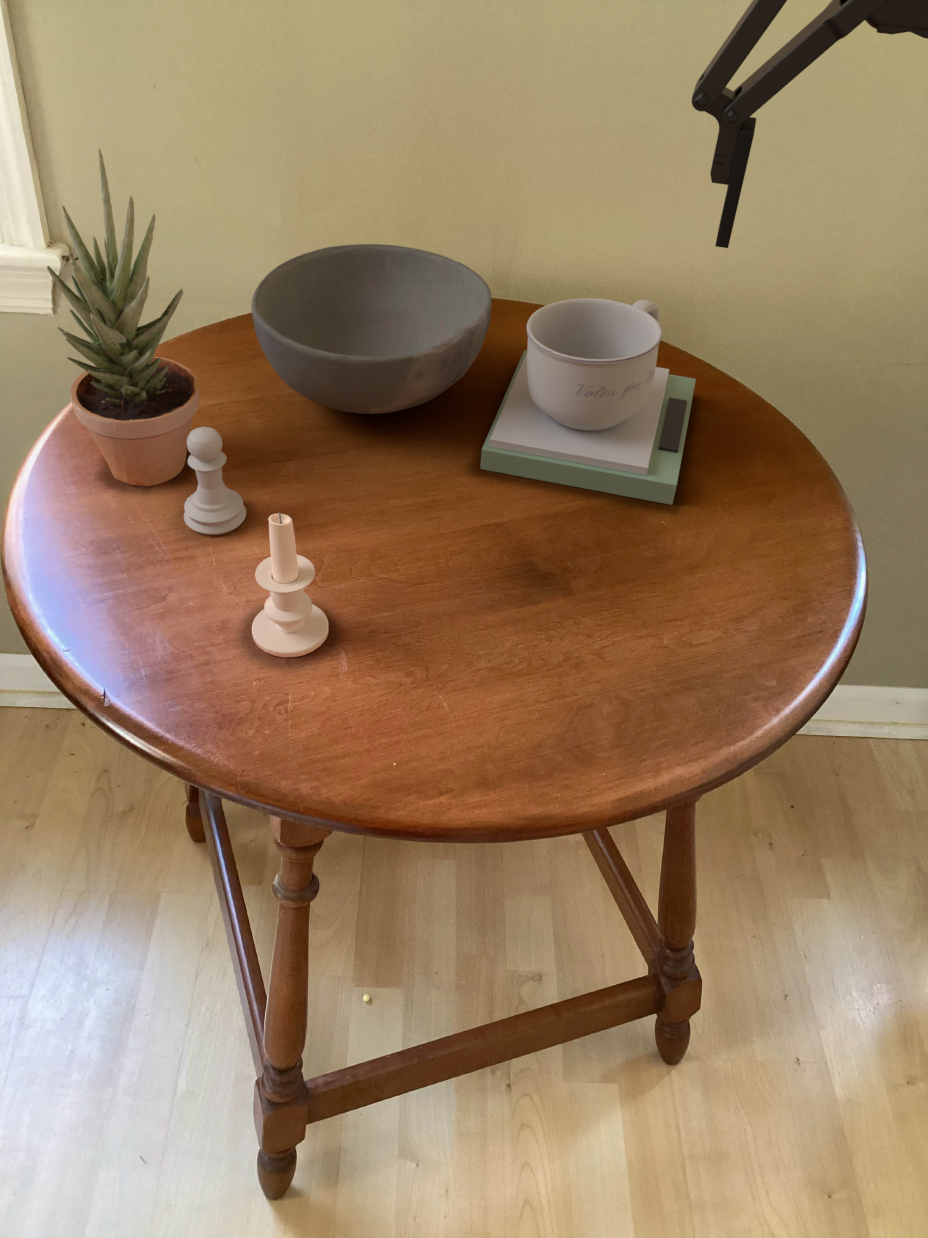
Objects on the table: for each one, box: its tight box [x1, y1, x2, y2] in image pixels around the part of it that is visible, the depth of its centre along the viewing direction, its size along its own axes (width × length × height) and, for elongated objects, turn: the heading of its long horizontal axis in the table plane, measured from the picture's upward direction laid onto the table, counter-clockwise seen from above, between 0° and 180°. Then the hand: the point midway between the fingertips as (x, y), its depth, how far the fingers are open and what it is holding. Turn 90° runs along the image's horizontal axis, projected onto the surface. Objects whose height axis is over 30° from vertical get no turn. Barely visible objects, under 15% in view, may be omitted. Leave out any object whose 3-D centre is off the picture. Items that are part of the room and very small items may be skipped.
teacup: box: [526, 297, 663, 430], centre depth 87 cm, size 14×11×8 cm
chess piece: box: [183, 426, 247, 536], centre depth 78 cm, size 5×5×8 cm
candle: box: [251, 511, 329, 658], centre depth 68 cm, size 5×5×10 cm
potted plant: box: [46, 148, 200, 487], centre depth 77 cm, size 10×10×25 cm
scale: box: [480, 349, 697, 506], centre depth 91 cm, size 16×17×3 cm
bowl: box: [250, 243, 493, 415], centre depth 91 cm, size 20×20×10 cm
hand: (838, 255), depth 62 cm, fingers open, 13 cm apart
